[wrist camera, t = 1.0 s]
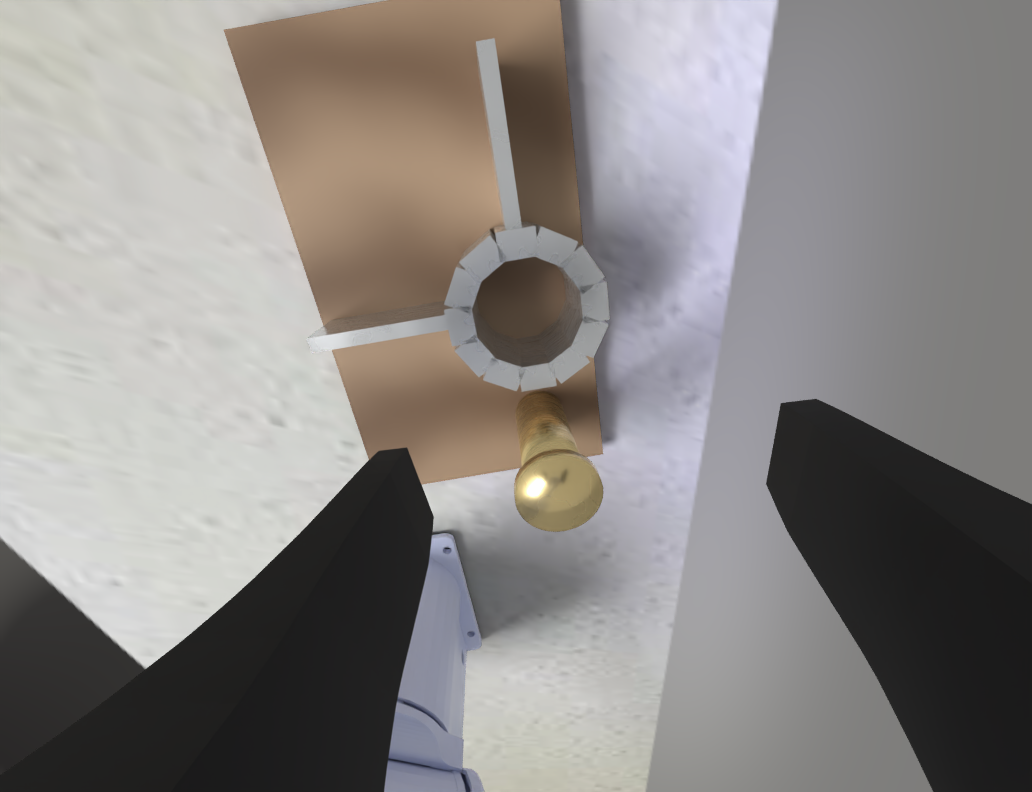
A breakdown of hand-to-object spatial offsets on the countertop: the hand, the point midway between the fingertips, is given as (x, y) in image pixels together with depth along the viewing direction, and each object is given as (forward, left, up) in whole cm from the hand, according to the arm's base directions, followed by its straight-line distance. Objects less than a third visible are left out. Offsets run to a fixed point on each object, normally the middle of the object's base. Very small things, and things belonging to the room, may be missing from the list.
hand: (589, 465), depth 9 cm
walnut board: (+2, +3, -14) cm, 14 cm away
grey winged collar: (+4, +3, -13) cm, 14 cm away
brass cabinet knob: (-5, 0, -13) cm, 14 cm away
